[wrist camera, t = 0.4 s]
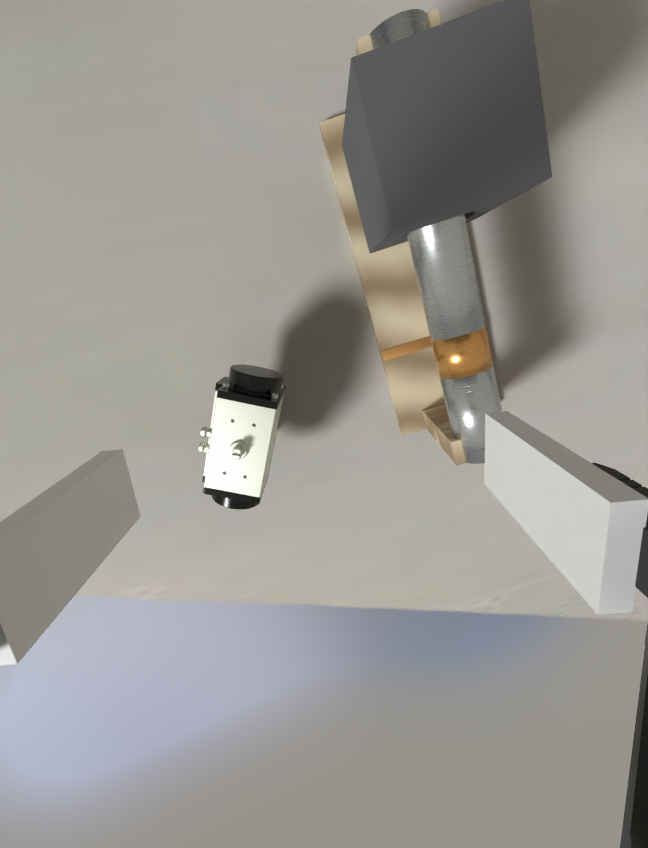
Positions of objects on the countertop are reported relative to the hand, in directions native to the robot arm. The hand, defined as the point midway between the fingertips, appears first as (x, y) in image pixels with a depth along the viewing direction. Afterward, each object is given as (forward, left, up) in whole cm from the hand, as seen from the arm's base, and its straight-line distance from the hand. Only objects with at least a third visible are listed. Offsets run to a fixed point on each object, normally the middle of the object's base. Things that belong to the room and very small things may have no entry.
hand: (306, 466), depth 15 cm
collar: (-12, +11, -22) cm, 27 cm away
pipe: (-5, +11, -20) cm, 23 cm away
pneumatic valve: (+3, -8, -28) cm, 29 cm away
